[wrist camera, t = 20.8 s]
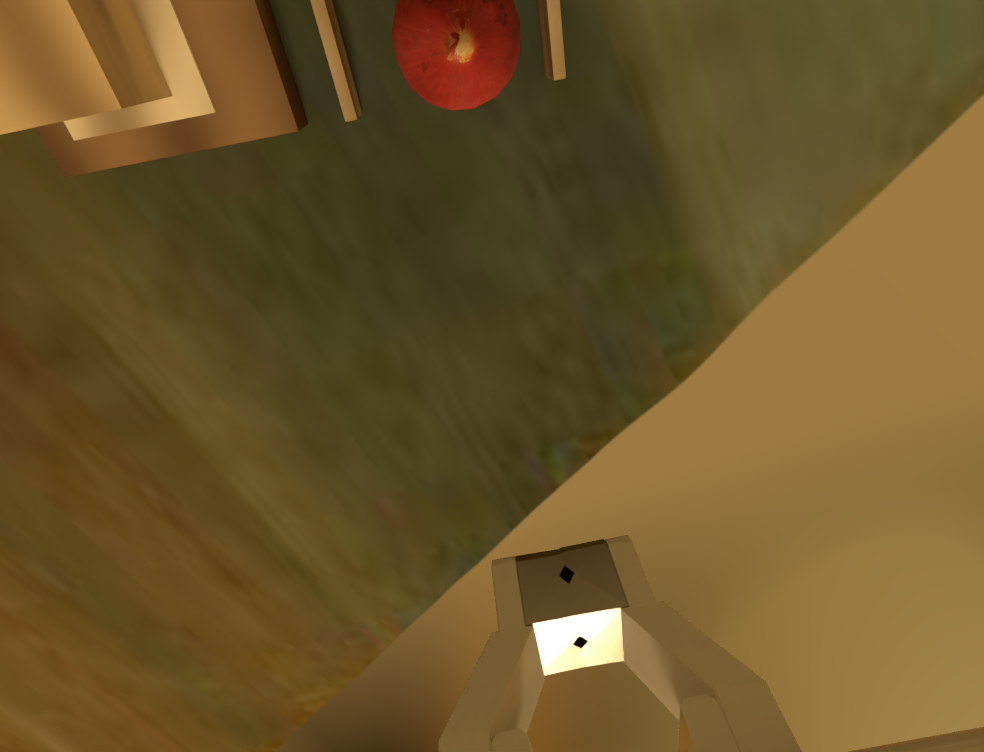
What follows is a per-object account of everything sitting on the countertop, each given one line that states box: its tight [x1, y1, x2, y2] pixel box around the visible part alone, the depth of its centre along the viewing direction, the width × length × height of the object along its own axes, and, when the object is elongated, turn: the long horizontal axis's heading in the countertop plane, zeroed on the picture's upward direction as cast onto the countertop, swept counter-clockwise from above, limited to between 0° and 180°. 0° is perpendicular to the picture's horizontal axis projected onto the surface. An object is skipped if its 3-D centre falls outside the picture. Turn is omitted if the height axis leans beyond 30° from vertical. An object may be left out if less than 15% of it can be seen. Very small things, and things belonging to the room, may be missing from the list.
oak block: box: [0, 0, 172, 135], centre depth 22 cm, size 5×5×5 cm
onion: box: [392, 0, 521, 111], centre depth 24 cm, size 6×6×8 cm
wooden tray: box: [36, 0, 566, 177], centre depth 25 cm, size 26×10×3 cm, turn 99°
